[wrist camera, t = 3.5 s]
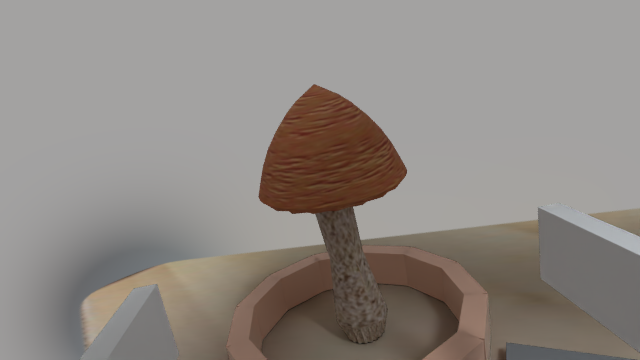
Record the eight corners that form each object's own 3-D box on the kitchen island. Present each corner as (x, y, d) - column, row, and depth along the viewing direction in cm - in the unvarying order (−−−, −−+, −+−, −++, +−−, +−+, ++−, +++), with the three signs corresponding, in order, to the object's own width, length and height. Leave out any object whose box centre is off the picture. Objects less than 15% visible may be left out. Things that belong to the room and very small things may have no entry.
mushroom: (291, 401, 19) (220, 101, 15) (295, 310, 27) (249, 95, 23) (448, 374, 19) (413, 66, 15) (407, 290, 27) (378, 72, 23)
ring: (493, 282, 26) (491, 249, 25) (481, 497, 14) (476, 441, 13) (307, 269, 32) (302, 243, 32) (185, 406, 20) (172, 367, 19)
